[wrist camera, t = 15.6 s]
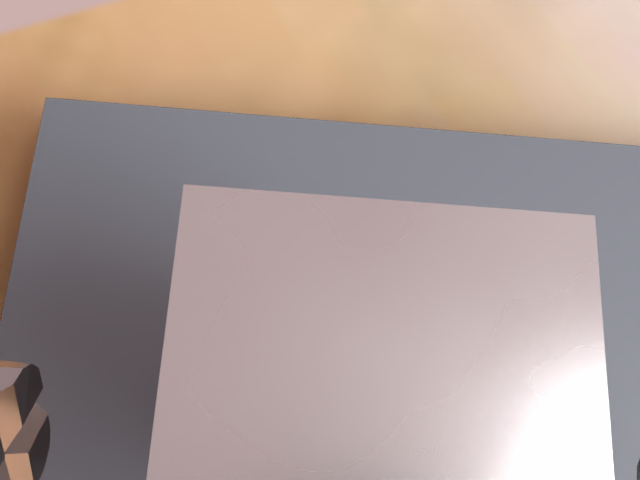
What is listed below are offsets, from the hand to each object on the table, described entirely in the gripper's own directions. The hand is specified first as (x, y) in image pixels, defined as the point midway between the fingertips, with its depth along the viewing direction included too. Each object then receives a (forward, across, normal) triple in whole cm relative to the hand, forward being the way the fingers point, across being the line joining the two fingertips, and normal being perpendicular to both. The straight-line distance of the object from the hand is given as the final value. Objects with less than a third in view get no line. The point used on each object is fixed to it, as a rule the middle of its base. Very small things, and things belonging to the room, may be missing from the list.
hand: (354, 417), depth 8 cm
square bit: (+6, 0, -6) cm, 8 cm away
